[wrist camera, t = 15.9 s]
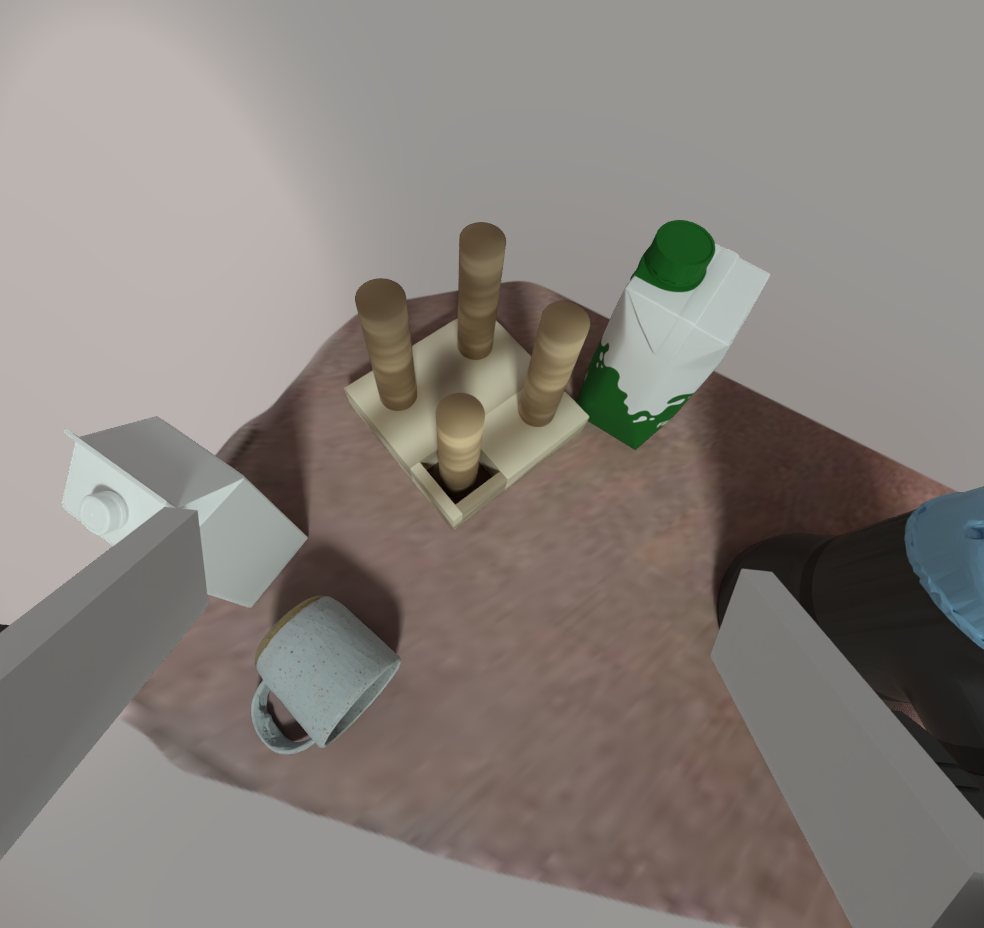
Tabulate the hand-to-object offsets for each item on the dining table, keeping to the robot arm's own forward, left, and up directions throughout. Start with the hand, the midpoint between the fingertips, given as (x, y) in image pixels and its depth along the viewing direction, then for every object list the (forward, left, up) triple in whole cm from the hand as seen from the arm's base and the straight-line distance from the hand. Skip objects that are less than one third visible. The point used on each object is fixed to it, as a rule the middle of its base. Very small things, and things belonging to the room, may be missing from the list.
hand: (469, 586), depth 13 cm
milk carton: (+17, +9, -32) cm, 37 cm away
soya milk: (+7, -27, -32) cm, 42 cm away
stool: (+16, -14, -32) cm, 38 cm away
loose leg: (+11, -9, -32) cm, 35 cm away
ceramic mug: (+4, +9, -32) cm, 34 cm away
